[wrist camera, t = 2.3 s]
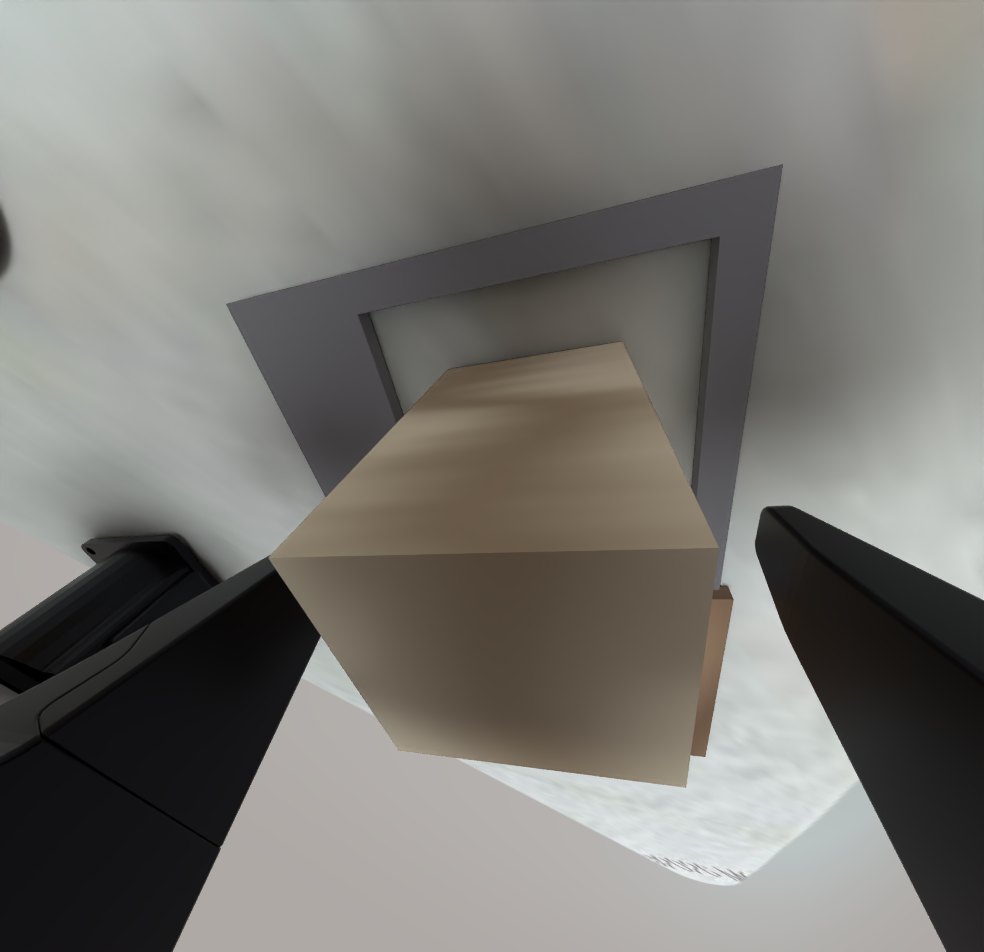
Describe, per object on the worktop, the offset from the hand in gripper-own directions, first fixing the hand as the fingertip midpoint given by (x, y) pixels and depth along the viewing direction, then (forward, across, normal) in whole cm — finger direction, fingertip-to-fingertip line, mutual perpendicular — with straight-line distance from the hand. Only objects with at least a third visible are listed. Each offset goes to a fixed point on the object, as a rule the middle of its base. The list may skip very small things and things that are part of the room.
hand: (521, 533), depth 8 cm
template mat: (+5, +1, 0) cm, 5 cm away
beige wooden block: (+5, 0, 0) cm, 5 cm away
